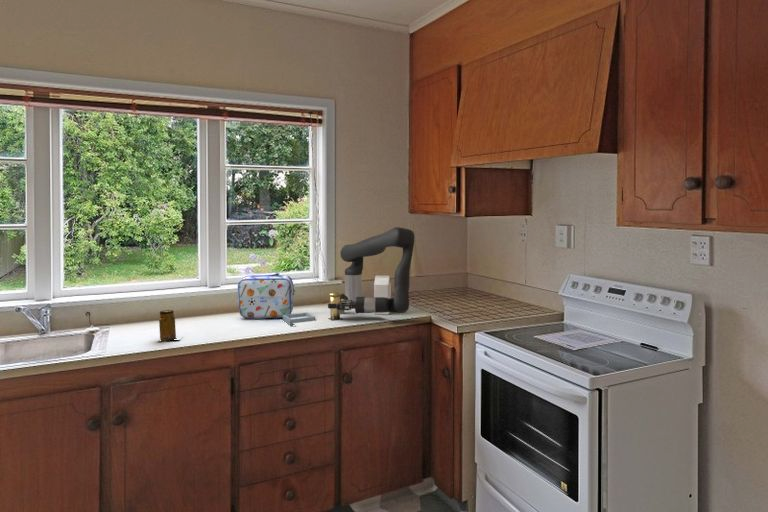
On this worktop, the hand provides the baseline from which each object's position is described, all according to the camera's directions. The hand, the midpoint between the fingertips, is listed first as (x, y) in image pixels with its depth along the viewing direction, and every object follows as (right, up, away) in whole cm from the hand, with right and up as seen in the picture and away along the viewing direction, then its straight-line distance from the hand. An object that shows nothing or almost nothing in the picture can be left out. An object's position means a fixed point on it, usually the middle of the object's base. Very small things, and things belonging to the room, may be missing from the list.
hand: (329, 305), depth 243 cm
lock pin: (+3, -6, 0) cm, 7 cm away
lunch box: (-31, -8, +13) cm, 35 cm away
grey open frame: (-14, -8, +1) cm, 16 cm away
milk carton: (+25, -6, +19) cm, 32 cm away
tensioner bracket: (+4, -7, +6) cm, 10 cm away
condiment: (-62, -12, -28) cm, 69 cm away
